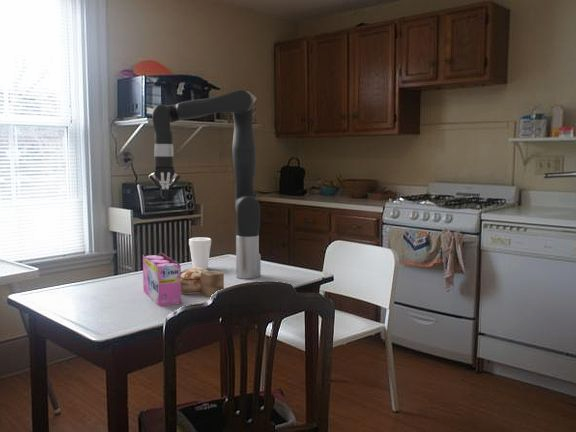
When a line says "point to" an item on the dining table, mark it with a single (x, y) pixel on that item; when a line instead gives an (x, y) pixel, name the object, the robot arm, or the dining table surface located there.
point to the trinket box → (191, 280)
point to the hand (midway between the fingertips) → (164, 198)
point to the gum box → (162, 279)
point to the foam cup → (200, 251)
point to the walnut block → (211, 282)
